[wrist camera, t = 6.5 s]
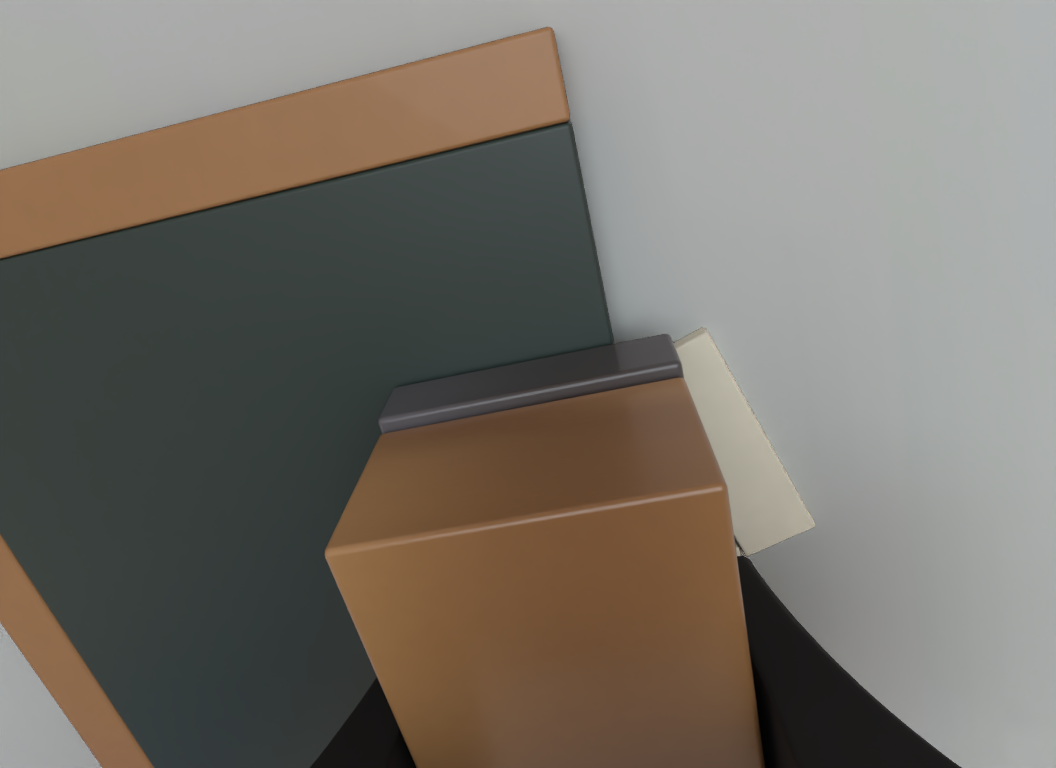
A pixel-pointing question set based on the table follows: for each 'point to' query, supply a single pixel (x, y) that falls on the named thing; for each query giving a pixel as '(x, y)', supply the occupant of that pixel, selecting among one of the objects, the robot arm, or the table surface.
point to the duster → (552, 569)
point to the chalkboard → (258, 379)
